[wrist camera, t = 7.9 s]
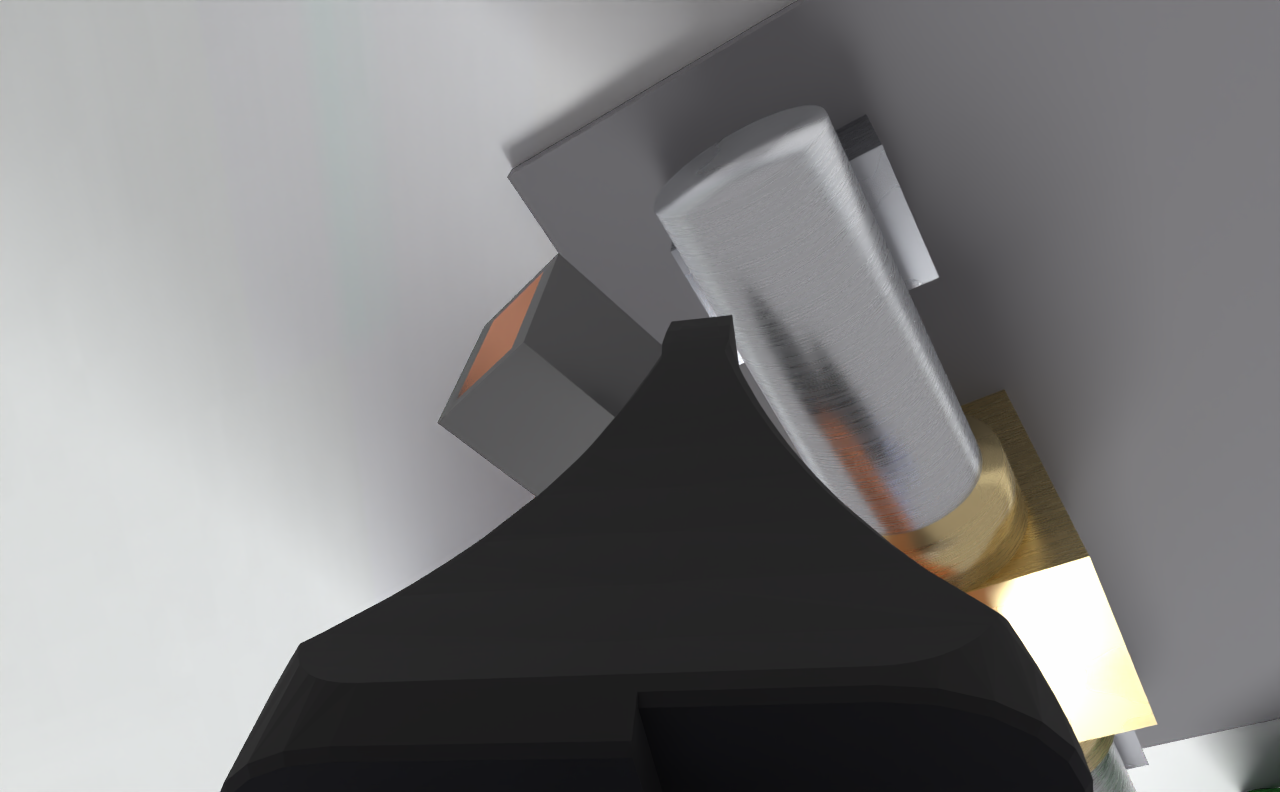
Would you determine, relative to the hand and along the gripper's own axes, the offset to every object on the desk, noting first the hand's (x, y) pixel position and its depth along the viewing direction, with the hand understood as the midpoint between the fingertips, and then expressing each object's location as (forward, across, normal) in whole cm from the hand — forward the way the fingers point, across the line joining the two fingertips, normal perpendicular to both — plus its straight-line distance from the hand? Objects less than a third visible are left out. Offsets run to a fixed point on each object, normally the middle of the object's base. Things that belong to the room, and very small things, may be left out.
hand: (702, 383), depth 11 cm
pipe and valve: (+8, -5, +10) cm, 14 cm away
